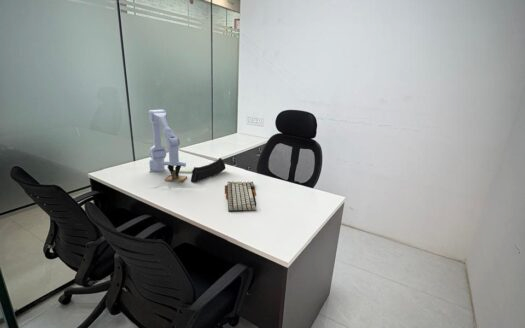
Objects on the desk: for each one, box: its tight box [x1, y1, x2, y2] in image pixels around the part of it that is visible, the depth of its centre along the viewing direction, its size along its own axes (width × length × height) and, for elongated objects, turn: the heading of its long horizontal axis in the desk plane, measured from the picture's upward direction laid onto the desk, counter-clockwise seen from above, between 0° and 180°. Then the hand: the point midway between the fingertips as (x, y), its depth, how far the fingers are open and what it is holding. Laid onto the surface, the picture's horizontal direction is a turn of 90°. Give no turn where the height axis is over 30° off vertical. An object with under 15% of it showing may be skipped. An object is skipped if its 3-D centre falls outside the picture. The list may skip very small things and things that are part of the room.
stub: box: [164, 169, 188, 183], centre depth 171 cm, size 12×8×6 cm, turn 87°
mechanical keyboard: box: [224, 180, 261, 213], centre depth 154 cm, size 38×19×3 cm, turn 9°
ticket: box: [179, 166, 194, 174], centre depth 188 cm, size 12×9×1 cm
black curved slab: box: [190, 157, 226, 183], centre depth 179 cm, size 17×3×30 cm
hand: (175, 176), depth 170 cm, fingers closed on stub, 2 cm apart
